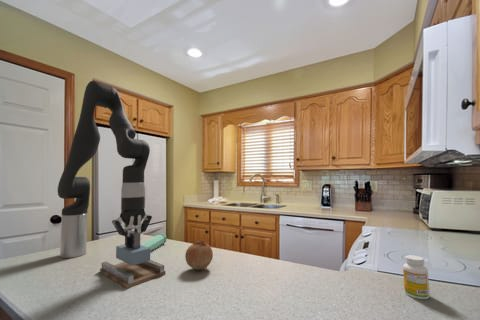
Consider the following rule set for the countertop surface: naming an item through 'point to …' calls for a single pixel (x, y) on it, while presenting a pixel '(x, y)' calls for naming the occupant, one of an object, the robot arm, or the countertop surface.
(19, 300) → the countertop surface
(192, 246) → the onion
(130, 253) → the blue block with handle
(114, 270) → the tray
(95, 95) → the robot arm
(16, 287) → the countertop surface
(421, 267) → the supplement bottle
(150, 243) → the mint green cylinder
